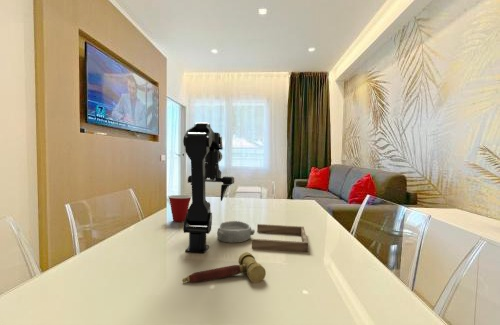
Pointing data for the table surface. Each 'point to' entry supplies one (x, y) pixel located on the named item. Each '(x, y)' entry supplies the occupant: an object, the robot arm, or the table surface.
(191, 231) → the robot arm
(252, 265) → the gavel
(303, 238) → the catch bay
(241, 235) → the dish
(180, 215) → the plastic cup
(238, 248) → the table surface
